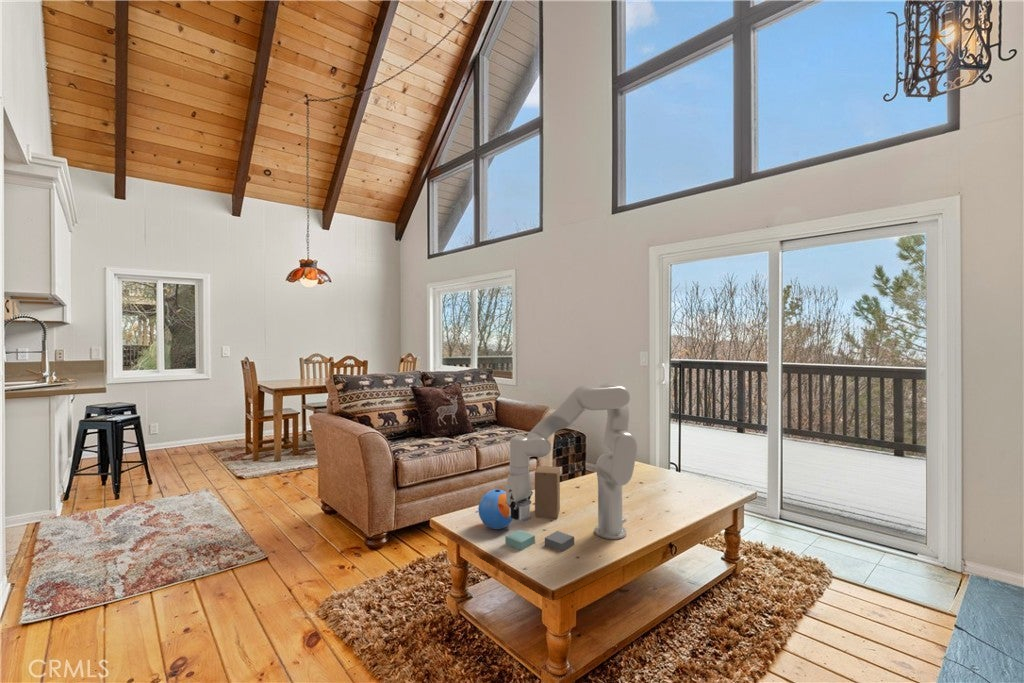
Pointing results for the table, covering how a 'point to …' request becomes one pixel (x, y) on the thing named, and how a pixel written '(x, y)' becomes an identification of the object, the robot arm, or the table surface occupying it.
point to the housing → (522, 510)
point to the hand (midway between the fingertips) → (519, 516)
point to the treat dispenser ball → (494, 509)
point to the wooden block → (547, 492)
